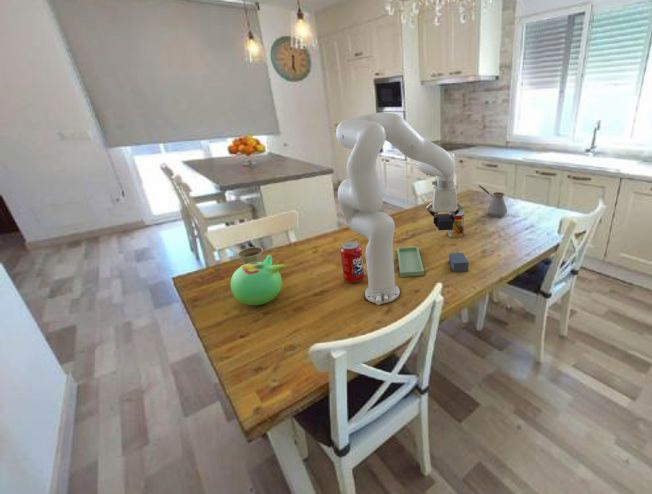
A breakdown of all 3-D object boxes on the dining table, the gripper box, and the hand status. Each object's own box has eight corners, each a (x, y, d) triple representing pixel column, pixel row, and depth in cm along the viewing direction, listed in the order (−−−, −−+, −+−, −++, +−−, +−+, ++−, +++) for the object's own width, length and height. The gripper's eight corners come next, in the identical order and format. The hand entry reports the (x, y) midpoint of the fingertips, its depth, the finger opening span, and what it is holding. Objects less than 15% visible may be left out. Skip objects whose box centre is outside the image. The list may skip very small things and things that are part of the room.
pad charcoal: (452, 229, 134) (453, 221, 132) (438, 230, 133) (438, 221, 132) (448, 222, 142) (449, 213, 140) (435, 222, 141) (435, 214, 140)
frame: (424, 275, 128) (424, 270, 128) (400, 277, 127) (400, 272, 127) (417, 250, 149) (417, 246, 148) (397, 251, 148) (397, 247, 147)
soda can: (342, 275, 129) (338, 242, 123) (362, 272, 131) (358, 239, 125) (345, 285, 122) (341, 250, 116) (366, 281, 125) (362, 247, 118)
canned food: (466, 236, 162) (467, 214, 157) (452, 238, 160) (452, 216, 155) (458, 230, 169) (459, 209, 164) (445, 233, 166) (445, 211, 161)
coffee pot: (510, 215, 189) (513, 190, 183) (498, 219, 183) (500, 194, 176) (483, 206, 204) (484, 183, 198) (470, 210, 198) (472, 186, 192)
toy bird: (229, 298, 116) (218, 262, 110) (276, 280, 127) (268, 247, 121) (246, 321, 104) (235, 282, 98) (296, 299, 115) (288, 263, 109)
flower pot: (267, 262, 140) (263, 245, 136) (266, 273, 132) (262, 254, 128) (243, 267, 137) (239, 249, 133) (241, 277, 129) (236, 258, 125)
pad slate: (467, 270, 131) (468, 262, 129) (453, 272, 130) (453, 263, 129) (462, 260, 139) (463, 252, 137) (449, 261, 138) (449, 253, 137)
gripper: (424, 187, 126) (424, 229, 133) (467, 185, 127) (465, 227, 135) (422, 182, 133) (422, 222, 140) (463, 180, 134) (461, 220, 141)
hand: (443, 224), depth 137 cm, fingers closed on pad charcoal, 6 cm apart
